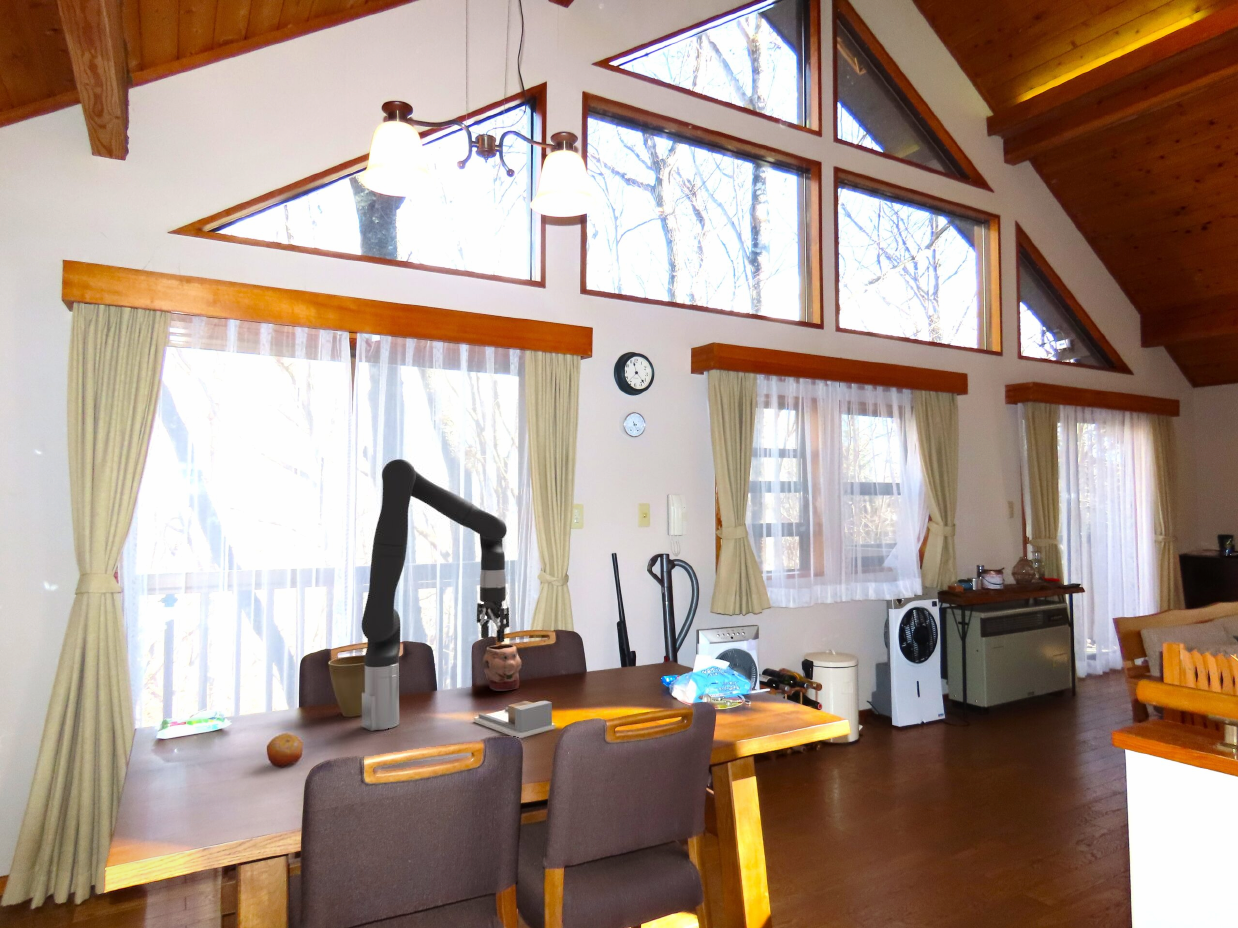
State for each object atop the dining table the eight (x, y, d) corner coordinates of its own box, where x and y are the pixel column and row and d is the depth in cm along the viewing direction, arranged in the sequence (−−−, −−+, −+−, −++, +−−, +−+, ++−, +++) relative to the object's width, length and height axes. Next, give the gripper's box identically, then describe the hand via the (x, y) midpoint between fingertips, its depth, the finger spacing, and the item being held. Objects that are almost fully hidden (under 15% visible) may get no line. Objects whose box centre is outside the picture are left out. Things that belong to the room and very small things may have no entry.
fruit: (288, 749, 190) (296, 724, 188) (302, 771, 186) (310, 746, 184) (256, 758, 184) (264, 732, 182) (269, 781, 180) (278, 755, 177)
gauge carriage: (516, 729, 203) (516, 707, 203) (503, 724, 207) (503, 703, 208) (543, 721, 209) (543, 701, 209) (530, 717, 213) (530, 697, 214)
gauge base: (518, 738, 200) (518, 710, 200) (473, 721, 216) (473, 695, 216) (554, 728, 208) (554, 701, 208) (509, 712, 224) (508, 688, 224)
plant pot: (389, 706, 234) (388, 654, 235) (368, 720, 219) (368, 664, 220) (342, 706, 235) (342, 654, 236) (319, 720, 221) (319, 664, 221)
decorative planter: (472, 684, 260) (471, 643, 260) (504, 679, 267) (503, 639, 268) (498, 696, 244) (498, 652, 244) (532, 690, 251) (531, 647, 251)
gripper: (469, 583, 228) (469, 638, 227) (494, 587, 217) (494, 645, 216) (490, 582, 233) (490, 635, 232) (516, 585, 222) (516, 641, 221)
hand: (492, 640), depth 224 cm, fingers open, 8 cm apart
